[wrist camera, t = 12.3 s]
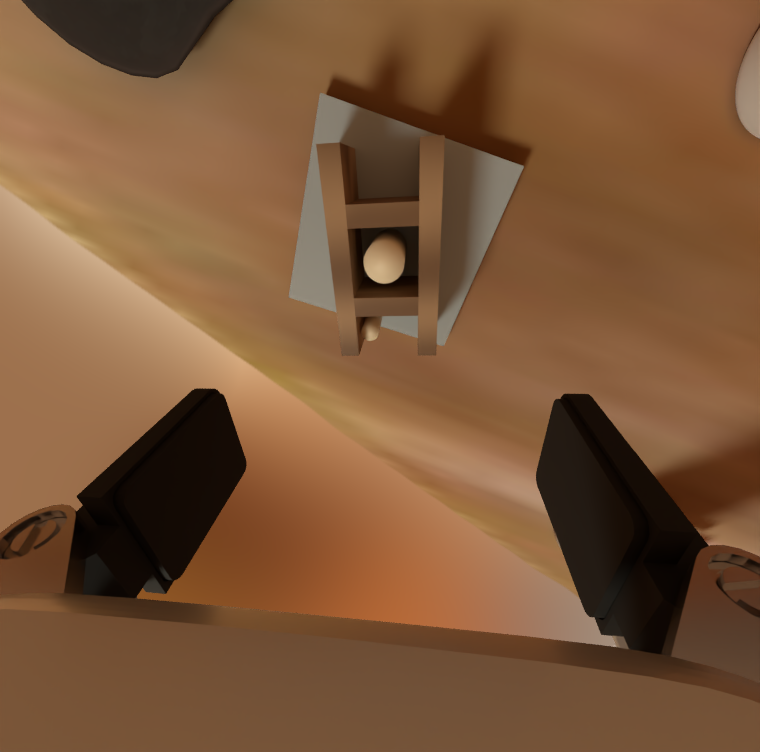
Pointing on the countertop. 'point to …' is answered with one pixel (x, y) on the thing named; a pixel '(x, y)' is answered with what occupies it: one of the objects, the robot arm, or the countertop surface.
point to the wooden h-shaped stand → (352, 214)
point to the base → (400, 244)
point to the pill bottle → (749, 88)
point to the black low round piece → (130, 30)
